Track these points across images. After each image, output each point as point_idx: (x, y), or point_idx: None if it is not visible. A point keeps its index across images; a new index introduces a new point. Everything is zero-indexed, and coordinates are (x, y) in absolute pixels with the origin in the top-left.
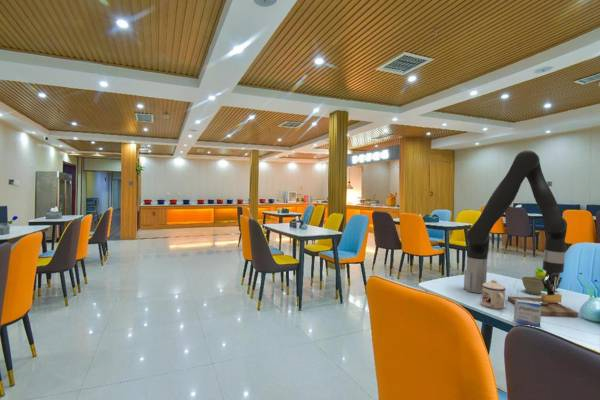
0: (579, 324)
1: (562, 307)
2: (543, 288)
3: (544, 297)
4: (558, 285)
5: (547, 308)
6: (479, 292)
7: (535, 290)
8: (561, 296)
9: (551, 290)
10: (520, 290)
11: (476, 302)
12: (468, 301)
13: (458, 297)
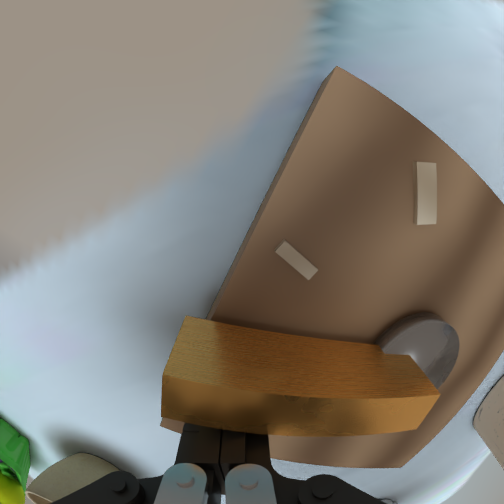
0: (450, 45)
1: (325, 226)
2: (26, 450)
3: (426, 385)
4: (84, 500)
5: (473, 264)
6: (384, 501)
7: None
8: (172, 358)
9: (267, 476)
10: None
11: None
12: None
13: (479, 455)
